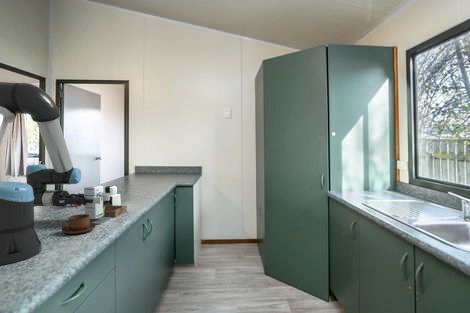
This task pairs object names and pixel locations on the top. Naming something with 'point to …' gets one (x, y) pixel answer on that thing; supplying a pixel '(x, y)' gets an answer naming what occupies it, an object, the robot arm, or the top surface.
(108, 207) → the walnut frame
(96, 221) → the slate mat
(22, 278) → the top surface
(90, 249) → the top surface
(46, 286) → the top surface
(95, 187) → the syrup box
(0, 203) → the robot arm
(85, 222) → the cup and saucer
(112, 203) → the medicine bottle
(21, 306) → the top surface
